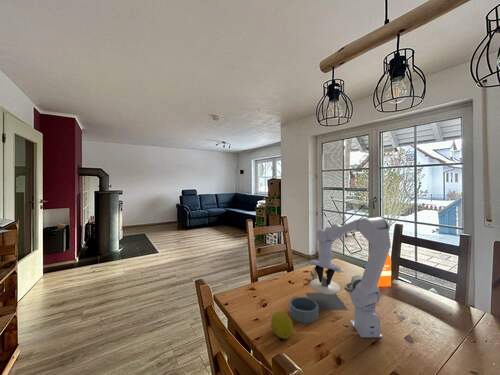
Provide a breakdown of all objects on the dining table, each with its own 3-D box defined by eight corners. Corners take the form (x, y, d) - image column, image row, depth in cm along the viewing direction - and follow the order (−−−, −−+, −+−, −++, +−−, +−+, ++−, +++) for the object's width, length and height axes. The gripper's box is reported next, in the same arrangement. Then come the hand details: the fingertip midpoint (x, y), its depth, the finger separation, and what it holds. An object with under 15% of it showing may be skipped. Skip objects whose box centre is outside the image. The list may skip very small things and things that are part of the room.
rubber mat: (347, 311, 98) (347, 309, 98) (314, 310, 99) (314, 309, 99) (335, 294, 113) (335, 292, 113) (305, 293, 114) (305, 292, 114)
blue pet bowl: (321, 324, 89) (321, 312, 89) (292, 324, 89) (292, 311, 89) (313, 307, 101) (313, 297, 101) (287, 307, 101) (287, 296, 101)
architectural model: (311, 283, 126) (311, 270, 126) (307, 278, 133) (307, 266, 133) (317, 283, 126) (317, 270, 126) (313, 278, 133) (313, 266, 133)
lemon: (295, 345, 78) (295, 322, 78) (273, 345, 78) (273, 322, 78) (289, 325, 89) (289, 305, 88) (270, 325, 89) (270, 305, 88)
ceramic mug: (365, 288, 120) (365, 274, 120) (368, 295, 112) (368, 280, 112) (344, 286, 123) (344, 272, 123) (346, 293, 115) (345, 278, 115)
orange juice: (367, 280, 129) (367, 246, 129) (381, 280, 130) (382, 246, 130) (376, 287, 121) (376, 250, 121) (391, 286, 122) (391, 250, 122)
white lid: (345, 294, 99) (345, 284, 98) (314, 294, 99) (314, 284, 98) (333, 280, 112) (334, 272, 112) (306, 280, 112) (307, 271, 112)
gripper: (343, 256, 103) (343, 285, 103) (315, 249, 113) (315, 275, 113) (337, 260, 98) (336, 290, 98) (308, 252, 108) (307, 280, 108)
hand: (324, 283), depth 105 cm, fingers closed on white lid, 3 cm apart
